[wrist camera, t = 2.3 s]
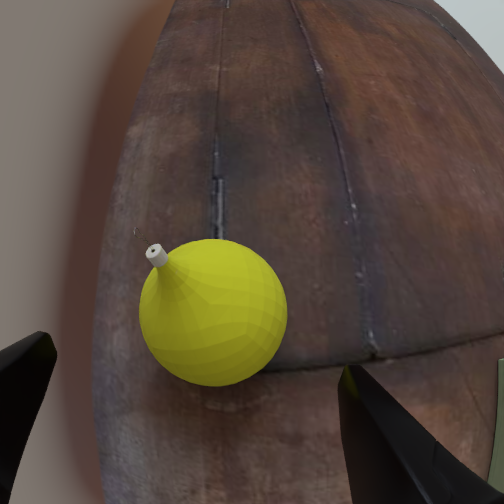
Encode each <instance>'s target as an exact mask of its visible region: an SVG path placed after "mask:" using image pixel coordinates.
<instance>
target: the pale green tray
mask: <svg viewBox="0 0 504 504" xmlns="http://www.w3.org/2000/svg"><path fill="white" fill-rule="evenodd" d="M487 483H488V484H490V485H491V486H492V487H494V488H495V489H497V490H498V491H500V492H502V493H504V359H500V360H498V407H497V421H496V431H495V440H494V448H493V454H492V461H491V466H490V472H489V477H488V482H487Z"/></svg>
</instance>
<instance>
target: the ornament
mask: <svg viewBox="0 0 504 504" xmlns="http://www.w3.org/2000/svg"><path fill="white" fill-rule="evenodd" d="M137 229H138V228H137ZM138 231H139V229H138ZM139 233H140V232H139ZM140 234H141V233H140ZM134 235H135V234H134ZM143 236H144V235H143ZM136 237H137V236H136ZM137 238H139V237H137ZM144 238H145V237H144ZM140 239H141V238H140ZM144 241H145V240H144ZM146 241H147V240H146ZM146 241H145V242H146ZM147 242H148V241H147ZM147 242H146V243H147ZM148 243H149V242H148ZM148 243H147V244H148ZM146 256H147V258H148V259H149V261H150V262H151V263H152V264H153V265H154V268H153V270H152V271H151V273H150V274H149V276H148V278H147V279H146V282H145V284H144V287H143V290H142V294H141V299H140V305H139V320H140V325H141V330H142V334H143V337H144V339H145V341H146V344H147V346H148V348H149V350H150V351H151V353H152V354H153V355H154V357H155V358H156V359H157V361H158V362H159V363H160V364H161V365H162V366H163V367H165V368H166V369H167V370H168V371H170V372H171V373H172V374H174V375H176V376H177V377H179V378H181V379H184V380H186V381H188V382H190V383H194V384H199V385H204V386H225V385H230V384H235V383H237V382H240V381H242V380H244V379H246V378H249V377H251V376H252V375H253V374H255V373H256V372H258V371H259V370H261V369H262V368H263V367H264V366H265V365H266V364H267V363H268V362H269V361H270V360H271V359H272V358H273V356H274V354H275V353H276V351H277V349H278V348H279V346H280V343H281V341H282V338H283V335H284V332H285V329H286V322H287V304H286V298H285V295H284V291H283V287H282V285H281V283H280V281H279V279H278V278H277V276H276V274H275V273H274V271H273V270H272V268H271V267H270V266H269V265H268V264H267V263H266V261H265V260H264V259H262V258H261V257H260V256H259V255H257V254H256V253H255V252H253V251H252V250H251V249H249V248H247V247H244V246H242V245H240V244H237V243H235V242H232V241H226V240H221V239H205V240H199V241H194V242H190V243H187V244H184V245H182V246H180V247H178V248H176V249H174V250H173V251H171V252H170V253H168V254H166V252H165V251H164V250H163V248H162V247H161V246H160V245H159V244H154V245H152V246H151V247H150V246H149V248H148V250H147V252H146Z"/></svg>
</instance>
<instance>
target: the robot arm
mask: <svg viewBox="0 0 504 504" xmlns="http://www.w3.org/2000/svg"><path fill="white" fill-rule="evenodd" d="M56 360H57V351H56V348H55V346H54V343H53V341H52V338H51V336H50V335H49V334H48V333H46V332H42V331H37V332H36V333H33V334H31V335H29V336H28V337H26V338H24V339H22V340H20V341H18V342H16V343H14V344H12V345H11V346H8V347H7V348H5V349H3V350H1V351H0V504H8V503H9V500H10V495H11V491H12V487H13V483H14V480H15V477H16V473H17V470H18V467H19V464H20V460H21V458H22V455H23V451H24V449H25V445H26V443H27V440H28V437H29V435H30V432H31V429H32V427H33V424H34V421H35V419H36V416H37V414H38V411H39V409H40V406H41V404H42V402H43V399H44V396H45V393H46V391H47V387H48V384H49V381H50V378H51V375H52V372H53V369H54V366H55V363H56ZM338 402H339V416H340V430H341V439H342V445H343V450H344V456H345V461H346V467H347V473H348V479H349V484H350V491H351V497H352V503H353V504H504V493H502V492H500V491H498V490H497V489H495V488H494V487H492V486H491V485H490V484H488V483H487V482H486V481H484V480H483V479H482V478H480V477H479V476H478V475H476V474H475V473H474V472H472V471H471V470H470V469H469V468H467V467H466V466H465V465H464V464H462V463H461V462H460V461H459V460H458V459H456V458H455V457H454V456H453V455H452V454H451V453H450V452H449V451H448V450H447V449H445V448H444V447H443V446H442V445H441V444H440V443H439V442H438V441H436V439H435V438H434V437H433V436H432V435H431V434H430V433H429V432H428V431H427V430H426V429H425V428H424V427H423V426H422V425H421V424H420V423H419V422H418V421H417V420H416V419H415V418H414V417H413V416H412V415H411V414H410V413H409V412H408V411H407V410H406V409H404V408H403V407H402V406H401V405H400V404H399V403H398V402H397V401H396V400H395V399H394V398H393V397H392V396H391V395H390V394H389V393H388V392H387V391H386V390H385V389H384V388H383V387H382V386H381V385H380V384H379V383H378V382H377V381H376V380H375V379H374V378H373V377H372V376H371V375H370V374H369V373H368V372H367V371H366V370H365V369H364V368H363V367H362V366H361V365H358V364H352V365H346V366H345V367H344V369H343V372H342V375H341V378H340V381H339V383H338Z"/></svg>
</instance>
